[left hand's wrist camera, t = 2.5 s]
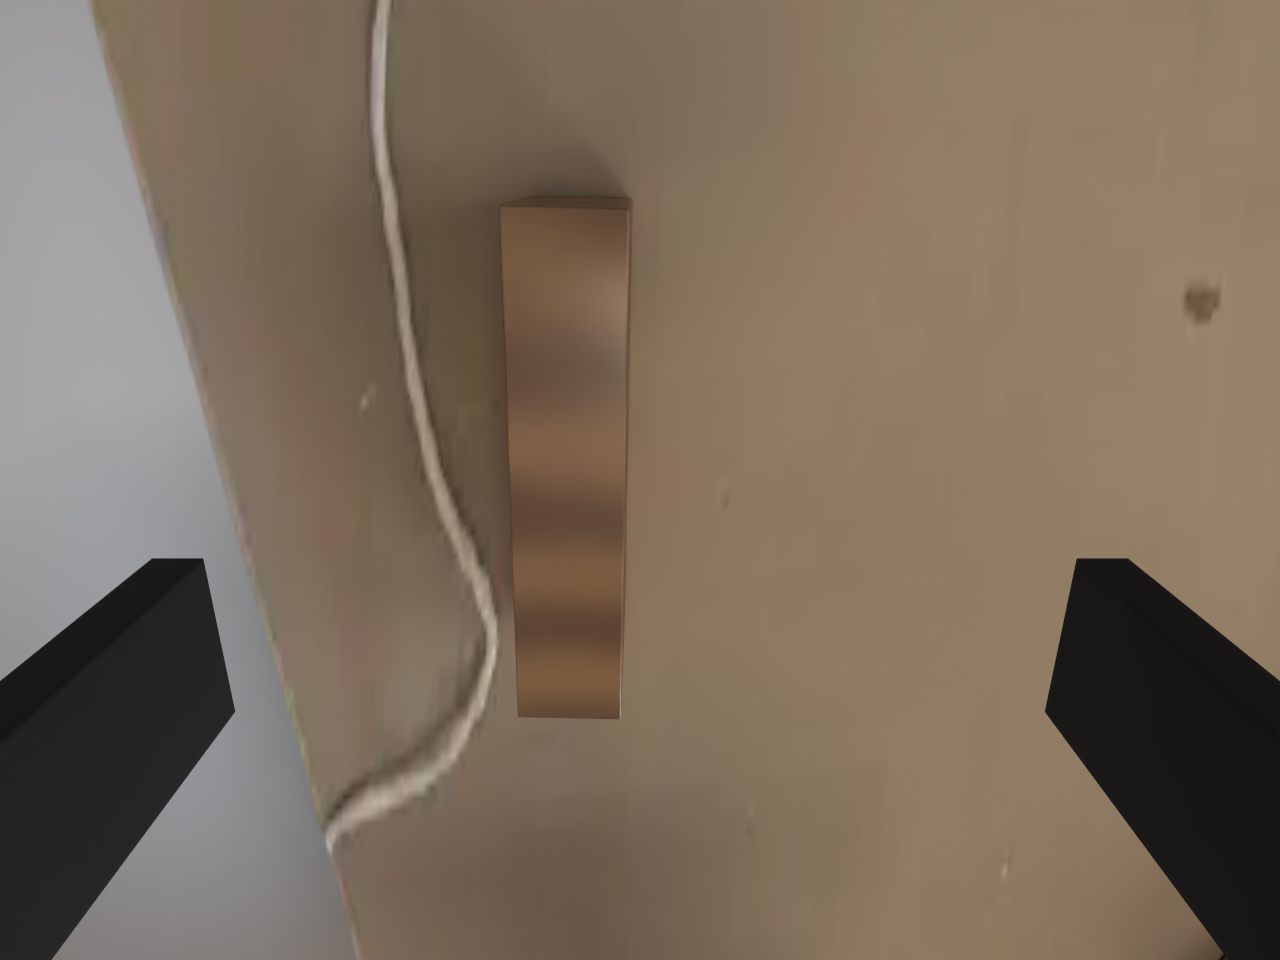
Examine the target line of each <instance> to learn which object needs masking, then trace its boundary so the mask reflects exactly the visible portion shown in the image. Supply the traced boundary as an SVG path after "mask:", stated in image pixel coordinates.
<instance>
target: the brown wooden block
mask: <svg viewBox="0 0 1280 960" xmlns="http://www.w3.org/2000/svg"><path fill="white" fill-rule="evenodd" d="M499 211H500V238H501V265H502V293H503V320H504V347H505V375H506V402H507V429H508V457H509V484H510V511H511V538H512V566H513V593H514V620H515V648H516V675H517V702H518V717H537V718H586V719H620V718H621V702H622V677H623V651H624V626H625V578H626V523H627V467H628V412H629V356H630V301H631V245H632V199H623V198H581V197H539V196H531V197H527V198H524V199H521V200H518V201H514V202H511V203H508V204H504V205H501V206H500V207H499Z"/></svg>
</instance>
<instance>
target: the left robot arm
mask: <svg viewBox="0 0 1280 960" xmlns="http://www.w3.org/2000/svg"><path fill="white" fill-rule="evenodd" d="M234 713H235V709H234V704H233V699H232V695H231V690H230V685H229V680H228V675H227V671H226V666H225V661H224V656H223V651H222V647H221V642H220V637H219V632H218V627H217V623H216V618H215V613H214V608H213V603H212V599H211V594H210V589H209V584H208V579H207V575H206V570H205V565H204V560H203V559H151V560H150V561H148V562H147V563H146V564H145V565H144V566H142V567H141V568H140V569H139V570H137V571H136V572H135V573H134V574H132V575H131V576H130V577H129V578H127V579H126V580H125V581H124V582H122V583H121V584H120V585H119V586H117V587H116V588H115V589H114V590H113V591H111V592H110V593H109V594H108V595H106V596H105V597H104V598H103V599H101V600H100V601H99V602H98V603H96V604H95V605H94V606H93V607H91V608H90V609H89V610H88V611H87V612H85V613H84V614H83V615H82V616H80V617H79V618H78V619H77V620H75V621H74V622H73V623H72V624H70V625H69V626H68V627H67V628H65V629H64V630H63V631H62V632H60V633H59V634H58V635H57V636H56V637H54V638H53V639H52V640H51V641H49V642H48V643H47V644H46V645H44V646H43V647H42V648H41V649H39V650H38V651H37V652H36V653H34V654H33V655H32V656H31V657H29V658H28V659H27V660H26V661H24V662H23V663H22V664H21V665H20V666H18V667H17V668H16V669H15V670H13V671H12V672H11V673H10V674H8V675H7V676H6V677H5V678H3V679H2V680H1V681H0V960H52V958H53V957H54V956H55V954H56V953H57V952H58V950H59V949H60V948H61V946H62V945H63V943H64V942H65V941H66V939H67V938H68V937H69V935H70V934H71V933H72V931H73V930H74V929H75V927H76V926H77V925H78V923H79V922H80V920H81V919H82V918H83V916H84V915H85V914H86V912H87V911H88V910H89V908H90V907H91V906H92V904H93V903H94V902H95V900H96V899H97V898H98V896H99V895H100V893H101V892H102V891H103V889H104V888H105V887H106V885H107V884H108V883H109V881H110V880H111V879H112V877H113V876H114V875H115V873H116V872H117V871H118V869H119V868H120V866H121V865H122V864H123V862H124V861H125V860H126V858H127V857H128V856H129V854H130V853H131V852H132V850H133V849H134V848H135V846H136V845H137V844H138V842H139V841H140V839H141V838H142V837H143V835H144V834H145V833H146V831H147V830H148V829H149V827H150V826H151V825H152V823H153V822H154V821H155V819H156V818H157V817H158V815H159V814H160V812H161V811H162V810H163V808H164V807H165V806H166V804H167V803H168V802H169V800H170V799H171V798H172V796H173V795H174V793H175V792H176V791H177V789H178V788H179V787H180V785H181V784H182V783H183V781H184V780H185V779H186V777H187V776H188V775H189V773H190V772H191V771H192V769H193V768H194V767H195V765H196V764H197V762H198V761H199V760H200V758H201V757H202V756H203V754H204V753H205V752H206V750H207V749H208V748H209V746H210V745H211V744H212V742H213V741H214V740H215V738H216V737H217V735H218V734H219V733H220V731H221V730H222V729H223V727H224V726H225V725H226V723H227V722H228V721H229V719H230V718H231V717H232V715H233V714H234ZM1045 713H1046V714H1047V715H1048V717H1049V718H1050V719H1051V721H1052V722H1053V723H1054V725H1055V726H1056V727H1057V729H1058V730H1059V731H1060V733H1061V734H1062V736H1063V737H1064V738H1065V740H1066V741H1067V742H1068V744H1069V745H1070V746H1071V748H1072V749H1073V750H1074V752H1075V753H1076V754H1077V756H1078V757H1079V758H1080V760H1081V761H1082V763H1083V764H1084V765H1085V767H1086V768H1087V769H1088V771H1089V772H1090V773H1091V775H1092V776H1093V777H1094V779H1095V780H1096V781H1097V783H1098V784H1099V785H1100V787H1101V788H1102V790H1103V791H1104V792H1105V794H1106V795H1107V796H1108V798H1109V799H1110V800H1111V802H1112V803H1113V804H1114V806H1115V807H1116V808H1117V810H1118V811H1119V812H1120V814H1121V815H1122V817H1123V818H1124V819H1125V821H1126V822H1127V823H1128V825H1129V826H1130V827H1131V829H1132V830H1133V831H1134V833H1135V834H1136V835H1137V837H1138V838H1139V839H1140V841H1141V842H1142V844H1143V845H1144V846H1145V848H1146V849H1147V850H1148V852H1149V853H1150V854H1151V856H1152V857H1153V858H1154V860H1155V861H1156V862H1157V864H1158V865H1159V866H1160V868H1161V869H1162V871H1163V872H1164V873H1165V875H1166V876H1167V877H1168V879H1169V880H1170V881H1171V883H1172V884H1173V885H1174V887H1175V888H1176V889H1177V891H1178V892H1179V893H1180V895H1181V896H1182V898H1183V899H1184V900H1185V902H1186V903H1187V904H1188V906H1189V907H1190V908H1191V910H1192V911H1193V912H1194V914H1195V915H1196V916H1197V918H1198V919H1199V921H1200V922H1201V923H1202V925H1203V926H1204V927H1205V929H1206V930H1207V931H1208V933H1209V934H1210V935H1211V937H1212V938H1213V939H1214V941H1215V942H1216V943H1217V945H1218V946H1219V948H1220V949H1221V950H1222V952H1223V953H1224V954H1225V956H1226V957H1227V958H1228V960H1280V681H1279V680H1278V679H1277V678H1275V677H1274V676H1273V675H1272V674H1270V673H1269V672H1268V671H1267V670H1265V669H1264V668H1263V667H1262V666H1260V665H1259V664H1258V663H1257V662H1256V661H1254V660H1253V659H1252V658H1251V657H1249V656H1248V655H1247V654H1246V653H1244V652H1243V651H1242V650H1241V649H1239V648H1238V647H1237V646H1236V645H1234V644H1233V643H1232V642H1231V641H1229V640H1228V639H1227V638H1226V637H1225V636H1223V635H1222V634H1221V633H1220V632H1218V631H1217V630H1216V629H1215V628H1213V627H1212V626H1211V625H1210V624H1208V623H1207V622H1206V621H1205V620H1203V619H1202V618H1201V617H1200V616H1198V615H1197V614H1196V613H1195V612H1194V611H1192V610H1191V609H1190V608H1189V607H1187V606H1186V605H1185V604H1184V603H1182V602H1181V601H1180V600H1179V599H1177V598H1176V597H1175V596H1174V595H1172V594H1171V593H1170V592H1169V591H1167V590H1166V589H1165V588H1164V587H1163V586H1161V585H1160V584H1159V583H1158V582H1156V581H1155V580H1154V579H1153V578H1151V577H1150V576H1149V575H1148V574H1146V573H1145V572H1144V571H1143V570H1141V569H1140V568H1139V567H1138V566H1136V565H1135V564H1134V563H1133V562H1132V561H1130V560H1129V559H1077V560H1076V565H1075V570H1074V575H1073V579H1072V584H1071V589H1070V594H1069V599H1068V603H1067V608H1066V613H1065V618H1064V623H1063V627H1062V632H1061V637H1060V642H1059V646H1058V651H1057V656H1056V661H1055V666H1054V670H1053V675H1052V680H1051V685H1050V690H1049V694H1048V699H1047V704H1046V709H1045Z"/></svg>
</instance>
